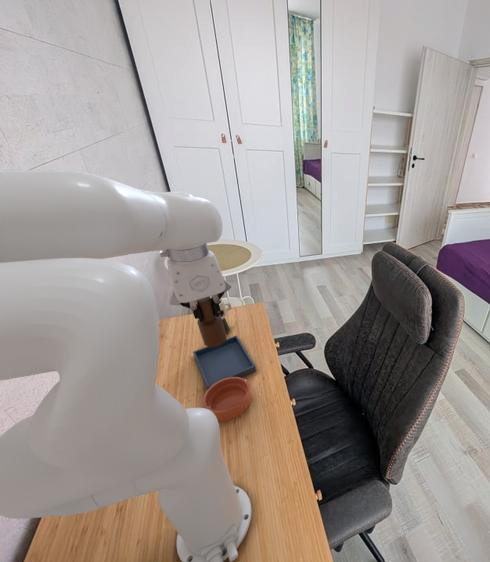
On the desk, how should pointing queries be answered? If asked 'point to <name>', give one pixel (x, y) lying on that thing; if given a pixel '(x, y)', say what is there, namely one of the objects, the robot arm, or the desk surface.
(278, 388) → the desk surface
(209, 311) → the bottle
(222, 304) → the character mug
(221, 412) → the bowl
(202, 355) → the tray
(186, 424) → the robot arm
